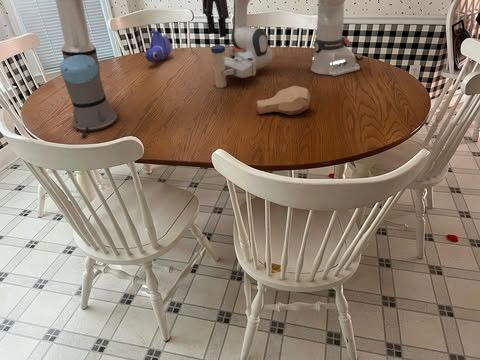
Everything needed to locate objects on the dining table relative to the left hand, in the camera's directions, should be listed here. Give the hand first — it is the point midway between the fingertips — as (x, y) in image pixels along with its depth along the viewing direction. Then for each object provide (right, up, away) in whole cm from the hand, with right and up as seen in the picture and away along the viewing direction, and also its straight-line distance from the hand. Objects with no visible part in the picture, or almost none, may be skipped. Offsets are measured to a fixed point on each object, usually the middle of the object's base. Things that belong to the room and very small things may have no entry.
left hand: (217, 35), depth 144 cm
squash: (+25, -34, -12) cm, 44 cm away
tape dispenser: (+10, +5, +42) cm, 43 cm away
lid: (0, -4, +3) cm, 5 cm away
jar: (+1, -17, +13) cm, 21 cm away
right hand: (0, -13, +8) cm, 15 cm away
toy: (-34, +4, +44) cm, 56 cm away
